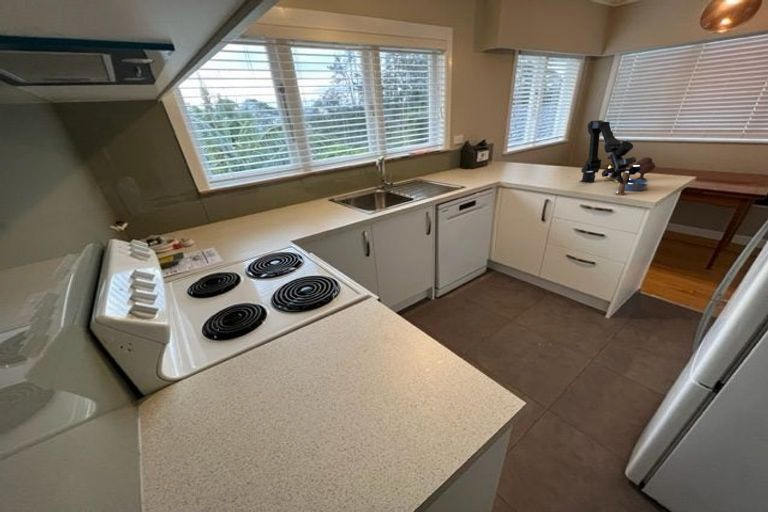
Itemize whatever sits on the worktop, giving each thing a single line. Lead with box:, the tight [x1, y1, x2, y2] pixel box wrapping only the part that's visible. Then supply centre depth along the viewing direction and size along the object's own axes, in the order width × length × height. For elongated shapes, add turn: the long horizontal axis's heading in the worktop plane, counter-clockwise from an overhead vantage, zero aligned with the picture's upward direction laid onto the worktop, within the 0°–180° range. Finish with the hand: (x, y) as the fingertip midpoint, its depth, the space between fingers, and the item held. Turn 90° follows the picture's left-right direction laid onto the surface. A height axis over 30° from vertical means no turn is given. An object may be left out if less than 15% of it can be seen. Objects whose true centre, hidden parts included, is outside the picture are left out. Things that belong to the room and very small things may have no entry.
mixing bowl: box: [618, 178, 649, 192], centre depth 182 cm, size 13×13×4 cm
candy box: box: [606, 165, 623, 183], centre depth 204 cm, size 16×2×8 cm, turn 168°
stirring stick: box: [615, 171, 629, 196], centre depth 173 cm, size 4×4×13 cm
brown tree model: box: [633, 156, 657, 181], centre depth 196 cm, size 11×11×15 cm
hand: (625, 183), depth 172 cm, fingers closed on stirring stick, 2 cm apart
